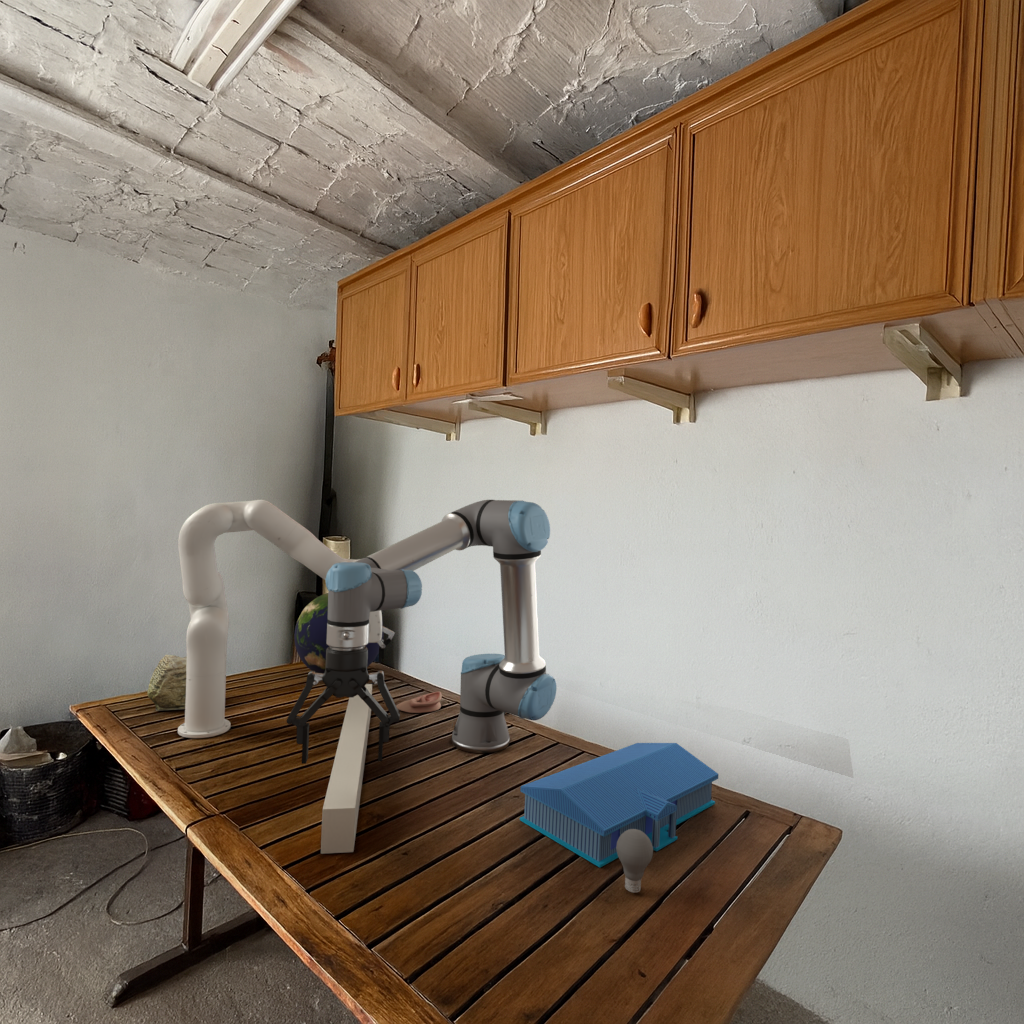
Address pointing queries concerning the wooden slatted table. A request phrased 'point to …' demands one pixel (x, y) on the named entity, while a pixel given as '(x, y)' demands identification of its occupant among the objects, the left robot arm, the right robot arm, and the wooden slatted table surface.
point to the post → (346, 780)
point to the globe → (319, 636)
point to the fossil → (169, 683)
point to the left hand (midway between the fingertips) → (363, 661)
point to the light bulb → (634, 857)
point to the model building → (619, 799)
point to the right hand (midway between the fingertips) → (342, 759)
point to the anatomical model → (421, 703)
